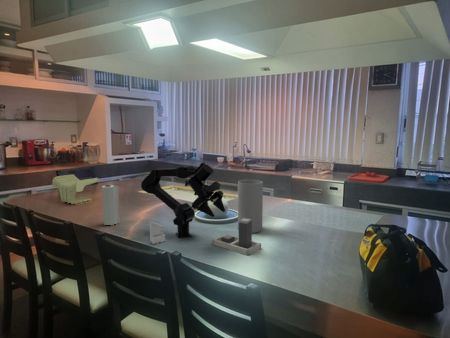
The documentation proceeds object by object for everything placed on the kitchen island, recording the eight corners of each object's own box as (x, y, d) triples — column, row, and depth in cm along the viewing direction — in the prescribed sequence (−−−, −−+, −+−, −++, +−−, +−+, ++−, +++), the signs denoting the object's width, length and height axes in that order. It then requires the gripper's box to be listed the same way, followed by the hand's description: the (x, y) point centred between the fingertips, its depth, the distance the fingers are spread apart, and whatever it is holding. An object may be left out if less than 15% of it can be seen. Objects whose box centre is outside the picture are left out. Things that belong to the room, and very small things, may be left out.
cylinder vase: (261, 234, 154) (262, 184, 151) (236, 232, 156) (236, 183, 153) (262, 226, 166) (263, 180, 163) (239, 225, 168) (239, 179, 165)
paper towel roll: (101, 225, 168) (99, 186, 166) (109, 222, 174) (107, 184, 171) (112, 226, 166) (110, 187, 163) (119, 223, 171) (118, 185, 169)
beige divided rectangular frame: (261, 248, 136) (261, 240, 136) (247, 255, 129) (248, 247, 128) (226, 238, 148) (226, 231, 148) (212, 244, 141) (212, 237, 140)
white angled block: (140, 238, 141) (149, 220, 143) (159, 244, 147) (167, 227, 149) (144, 240, 138) (152, 222, 140) (162, 247, 144) (170, 229, 146)
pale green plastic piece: (53, 201, 223) (52, 176, 221) (75, 197, 236) (73, 174, 234) (77, 207, 207) (75, 180, 204) (99, 202, 220) (97, 177, 217)
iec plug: (238, 249, 135) (238, 220, 133) (243, 246, 138) (243, 217, 137) (246, 251, 133) (247, 221, 131) (251, 248, 136) (251, 219, 135)
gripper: (196, 179, 133) (218, 207, 129) (220, 173, 149) (240, 199, 145) (182, 195, 138) (203, 223, 134) (206, 188, 154) (225, 213, 150)
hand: (219, 214), depth 141 cm, fingers open, 9 cm apart
